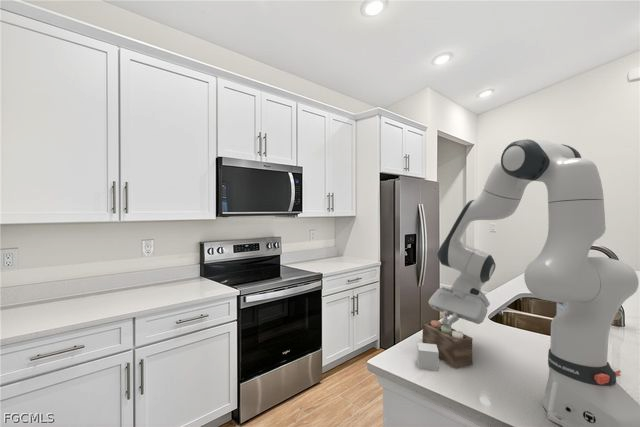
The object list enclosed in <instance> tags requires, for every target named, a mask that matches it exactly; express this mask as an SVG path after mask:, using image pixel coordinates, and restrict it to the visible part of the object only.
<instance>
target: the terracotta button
mask: <svg viewBox="0 0 640 427" xmlns="http://www.w3.org/2000/svg"><path fill="white" fill-rule="evenodd" d="M430 323H431V326H432V327H434V328H439V327H441V323H442V322H441V321H440V320H435V319H432V320H430Z"/></svg>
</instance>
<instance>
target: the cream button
mask: <svg viewBox="0 0 640 427" xmlns="http://www.w3.org/2000/svg"><path fill="white" fill-rule="evenodd" d="M463 334H464V333H463V332H462V331H460V330H457V331H452V337H453V338H455V339H457V340H458V339H463Z"/></svg>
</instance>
